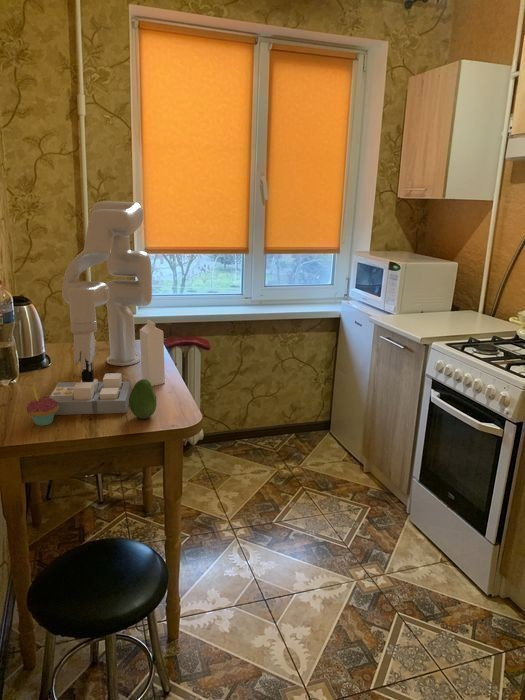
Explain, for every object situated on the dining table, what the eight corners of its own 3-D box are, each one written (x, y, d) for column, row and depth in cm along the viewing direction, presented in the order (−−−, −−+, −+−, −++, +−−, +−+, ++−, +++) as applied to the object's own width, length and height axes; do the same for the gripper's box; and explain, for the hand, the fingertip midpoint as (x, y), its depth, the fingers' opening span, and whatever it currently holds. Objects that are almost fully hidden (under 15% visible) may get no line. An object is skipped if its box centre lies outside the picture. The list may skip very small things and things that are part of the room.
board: (59, 394, 173) (58, 381, 172) (131, 392, 176) (131, 379, 175) (46, 415, 158) (45, 401, 156) (126, 412, 161) (125, 399, 159)
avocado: (159, 412, 162) (158, 375, 158) (154, 423, 154) (152, 385, 150) (133, 411, 162) (131, 374, 158) (126, 422, 154) (124, 384, 150)
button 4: (103, 402, 166) (102, 388, 165) (119, 402, 167) (118, 387, 165) (100, 409, 161) (99, 394, 160) (117, 409, 162) (116, 393, 160)
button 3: (106, 388, 173) (105, 373, 171) (122, 387, 173) (121, 373, 172) (103, 393, 168) (102, 379, 166) (120, 393, 168) (119, 378, 167)
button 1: (82, 393, 172) (81, 379, 171) (98, 393, 173) (97, 379, 171) (79, 399, 167) (78, 385, 166) (96, 399, 168) (95, 384, 167)
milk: (149, 387, 181) (146, 324, 175) (141, 381, 186) (138, 320, 179) (165, 383, 185) (163, 322, 178) (157, 378, 189) (155, 318, 183)
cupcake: (28, 430, 148) (23, 390, 144) (27, 418, 155) (23, 379, 152) (61, 425, 151) (57, 386, 148) (59, 414, 159) (55, 376, 155)
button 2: (77, 397, 164) (76, 382, 163) (94, 397, 165) (93, 382, 164) (74, 403, 160) (73, 388, 158) (91, 403, 160) (90, 388, 159)
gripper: (76, 320, 170) (80, 374, 175) (65, 332, 155) (70, 391, 161) (100, 320, 171) (103, 374, 176) (92, 332, 156) (96, 390, 162)
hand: (88, 382), depth 168 cm, fingers closed
